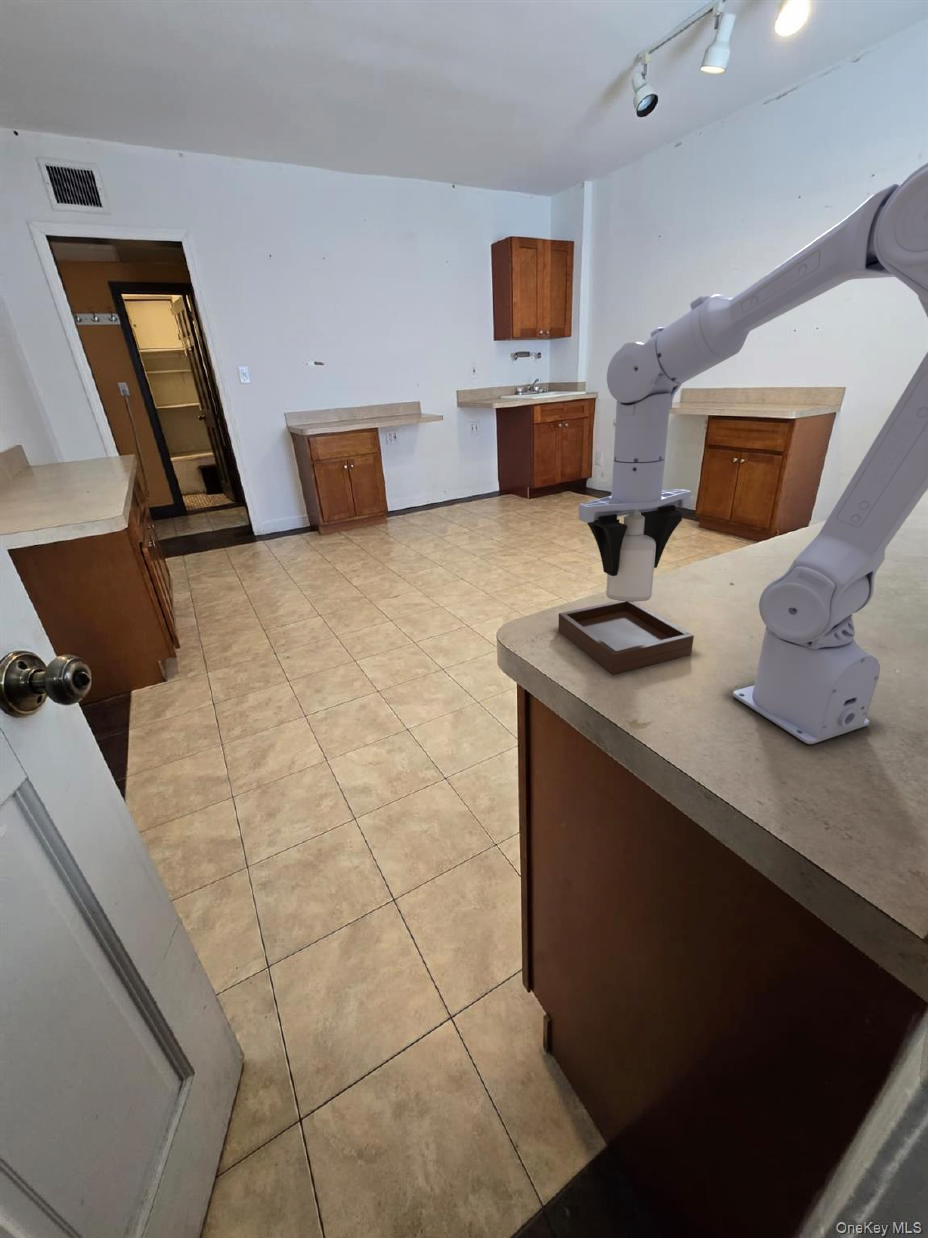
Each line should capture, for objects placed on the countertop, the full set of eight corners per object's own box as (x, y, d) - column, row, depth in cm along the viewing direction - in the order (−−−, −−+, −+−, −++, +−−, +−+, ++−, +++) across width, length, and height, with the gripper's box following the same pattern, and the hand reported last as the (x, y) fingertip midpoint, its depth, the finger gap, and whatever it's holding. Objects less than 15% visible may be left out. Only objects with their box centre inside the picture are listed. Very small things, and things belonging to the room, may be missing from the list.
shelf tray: (691, 654, 65) (694, 635, 64) (612, 674, 62) (614, 655, 61) (627, 615, 77) (628, 598, 76) (558, 630, 74) (558, 613, 73)
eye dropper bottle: (639, 607, 64) (648, 512, 59) (600, 597, 68) (605, 506, 63) (656, 596, 66) (665, 504, 61) (617, 587, 70) (623, 499, 65)
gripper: (667, 449, 65) (657, 552, 71) (566, 462, 61) (564, 569, 67) (708, 455, 59) (694, 567, 65) (599, 469, 55) (594, 587, 61)
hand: (630, 569), depth 65 cm, fingers closed on eye dropper bottle, 5 cm apart
